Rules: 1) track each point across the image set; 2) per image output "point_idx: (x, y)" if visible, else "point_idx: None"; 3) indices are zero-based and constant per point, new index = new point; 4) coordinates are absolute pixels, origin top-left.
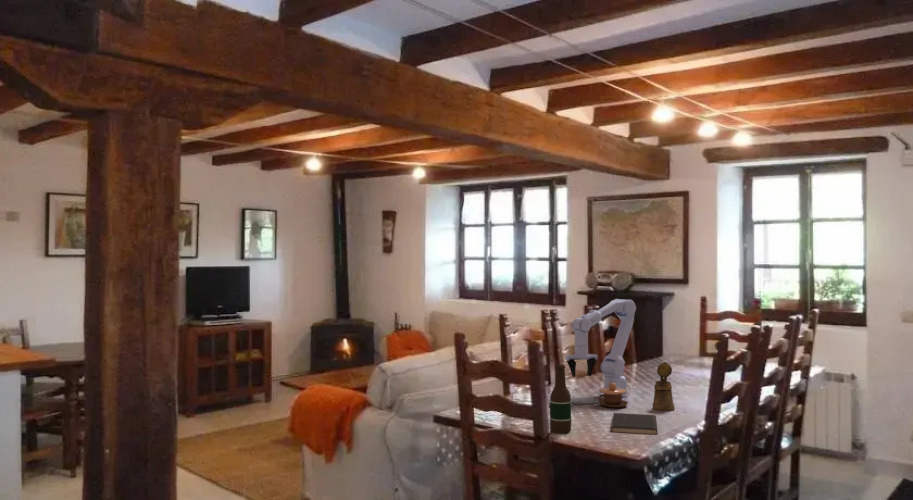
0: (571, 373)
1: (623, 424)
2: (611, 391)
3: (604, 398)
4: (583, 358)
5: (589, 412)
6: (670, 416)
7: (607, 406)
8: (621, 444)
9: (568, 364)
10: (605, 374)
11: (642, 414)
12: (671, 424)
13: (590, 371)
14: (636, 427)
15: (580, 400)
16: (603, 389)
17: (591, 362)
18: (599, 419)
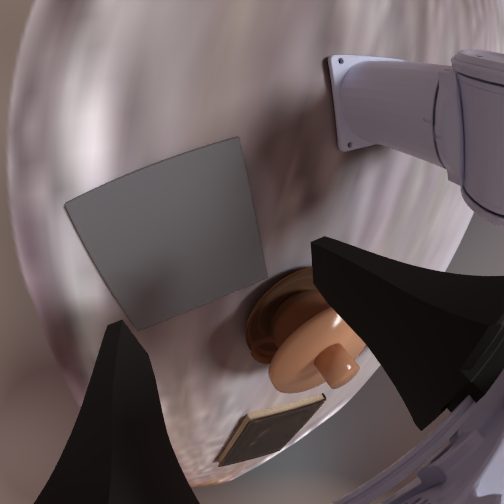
0: (100, 352)
1: (241, 456)
2: (310, 378)
3: (277, 338)
4: (379, 493)
5: (189, 400)
6: (360, 364)
7: (264, 349)
8: (217, 475)
9: (63, 472)
10: (448, 112)
11: (306, 407)
12: (326, 405)
13: (345, 321)
14: (255, 457)
15: (164, 249)
16: (297, 357)
17: (410, 408)
18: (207, 432)
